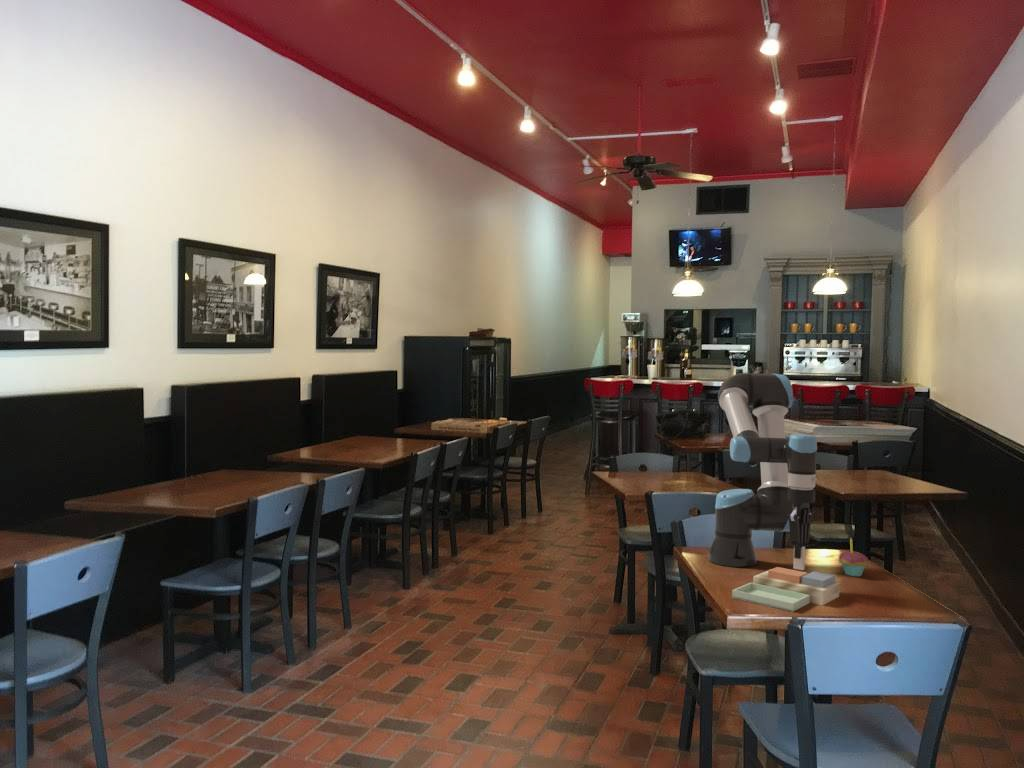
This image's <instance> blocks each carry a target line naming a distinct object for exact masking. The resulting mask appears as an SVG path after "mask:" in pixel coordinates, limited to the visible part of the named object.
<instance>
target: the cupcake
mask: <svg viewBox="0 0 1024 768" xmlns="http://www.w3.org/2000/svg"><path fill="white" fill-rule="evenodd" d="M849 544H850V545H849V546H850V549H849V550H850V551H845V552H843V553H841V554H840V555H839V556H838V558H839V560H838V561H839V563H840V564H841V565H842V567H843V570H844V574H845V575H846V576H850V577H861V576H862V575H863V572H864V570H865V568H867V566H869V558H868V557H867V556H866V555H864V554H863V553H862V552H861V553H860V552H859V551H857V550H856V551H853V549H854V546H853V539H852V538H850V539H849Z"/></svg>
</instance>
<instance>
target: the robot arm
mask: <svg viewBox="0 0 1024 768" xmlns="http://www.w3.org/2000/svg"><path fill="white" fill-rule="evenodd" d="M790 380H791V379H789V377H788V376H786V375H785V374H780V373H748V372H742V373H736V374H733V375H731V377H728V378H727V379H726V380H724V382H723V383H722V384H721V386H720V388H719V390H718V393H717V401H718V403H719V406H720V408H721V410H722V411H724V412H725V415H726V418H727V422H728V425H729V428H730V431H731V434H732V438H731V439H730V441H729V455H730V458H731V460H732V461H733V462H742V463H760V480H761V485H760V486H759V487H758V488H757V490H756V491H757V494H756V493H754V491H753V490H752V489H749V488H733V489H732V488H731V489H726V490H722V491H719V493H717V495H716V497H715V505H714V508H715V512H714V513H715V516H714V517H715V520H714V522H715V523H714V538H713V539H712V543H711V546H710V547H709V550H708V561H709V562H711V563H713V564H716V565H720V566H725V567H732V568H733V567H734V568H736V567H737V568H740V567H741V568H745V567H748V568H749V567H752V566H755V565H756V564H757V553H756V550H755V547H754V543H753V539H752V534H753V531H763V532H766V531H767V532H780V533H783V532H789V537H790V538H789V540H790V545H789V546H790V547H793V565H792V566H793V567H792V570H797V571H805V563H806V562H805V561H806V547H810V546H809V545H810V544H809V542H810V535H811V534H810V533H811V524H812V519H813V514H814V510H813V509H811V508H810V504H813V503H815V501H816V490H815V489H814V488H815V487H816V482H817V480H818V478H817V477H816V476H817V475H816V473H817V454H818V453H817V450H818V443H817V442H818V440H817V437H816V436H815V435H812V434H806V433H804V434H803V433H793V434H790V436H787V437H786V427H785V415H787V414H788V412H789V408H792V406H793V402H794V398H793V397H794V394H793V393H794V392H793V387H792V386H793V385H792V383H791V381H790ZM750 408H751V409H752V411H751V410H750ZM751 412H752V413H751ZM752 415H754V416H755V417H756V418H757V427H756V424H755V422H754V418H753V416H752Z"/></svg>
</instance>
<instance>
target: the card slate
mask: <svg viewBox="0 0 1024 768" xmlns="http://www.w3.org/2000/svg"><path fill="white" fill-rule="evenodd" d="M836 576H837V575H836V574H832V573H827V572H821V571H816V570H812V572H809V573H808V574H807V575H804V576H802V584H805V585H810V586H815V587H820V588H825V587H827V586H828V585H830V584H832V583H834V582H836V581H837V579H836V578H837V577H836Z"/></svg>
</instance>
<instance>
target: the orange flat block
mask: <svg viewBox="0 0 1024 768" xmlns="http://www.w3.org/2000/svg"><path fill="white" fill-rule="evenodd" d="M770 569H771V570H770ZM770 569H768V570H767V571H768V578H773V579H778V580H783V581H788V582H793V583H798V584H800V583H802V576H804V575H807V574H809V573H808V572H806V571H802V570H797V569H790V568H784V567H781V566H780V567H779V566H776V567H774V568H770Z"/></svg>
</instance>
